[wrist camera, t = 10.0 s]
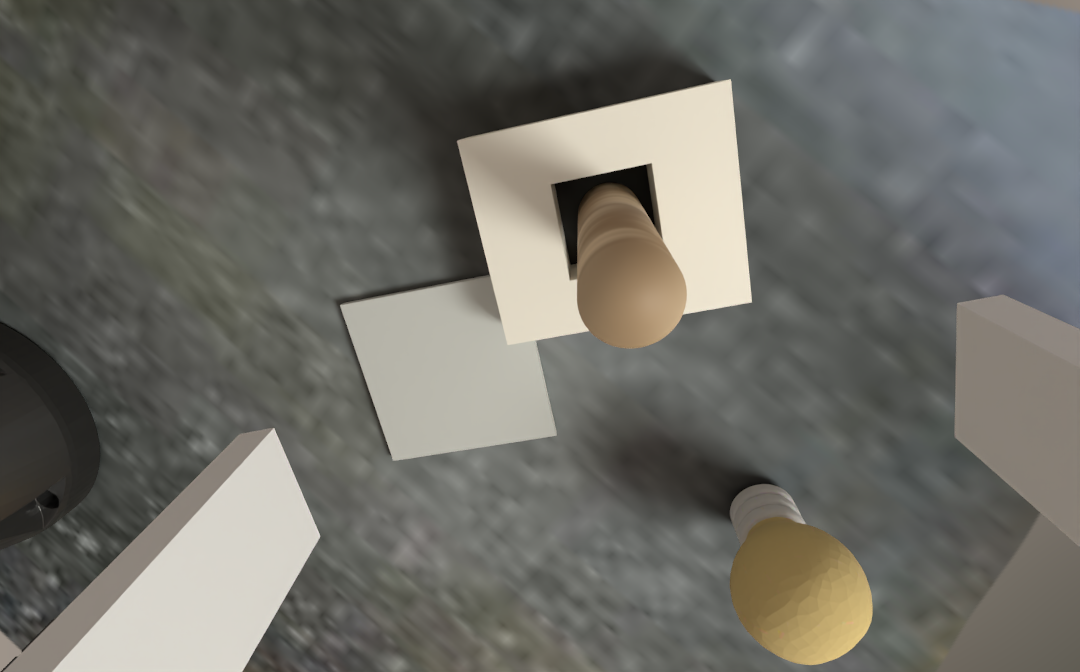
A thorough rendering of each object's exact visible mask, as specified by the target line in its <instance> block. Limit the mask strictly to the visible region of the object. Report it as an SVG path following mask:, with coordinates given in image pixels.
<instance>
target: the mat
mask: <svg viewBox="0 0 1080 672" xmlns="http://www.w3.org/2000/svg"><path fill="white" fill-rule="evenodd" d="M340 307H341V310H342V313H343V316H344V319H345V322H346V324H347V327H348V330H349V333H350V336H351V339H352V342H353V345H354V348H355V351H356V354H357V356H358V359H359V362H360V365H361V368H362V371H363V374H364V377H365V380H366V383H367V386H368V389H369V391H370V394H371V397H372V400H373V403H374V406H375V409H376V412H377V415H378V418H379V421H380V423H381V426H382V429H383V432H384V435H385V438H386V441H387V444H388V447H389V450H390V453H391V456H392V458H393V461H396V460H402V459H409V458H415V457H422V456H428V455H435V454H441V453H448V452H454V451H461V450H467V449H473V448H480V447H486V446H493V445H499V444H506V443H512V442H519V441H525V440H532V439H538V438H544V437H551V436H557V431H556V426H555V422H554V418H553V413H552V409H551V405H550V400H549V396H548V392H547V387H546V383H545V379H544V374H543V370H542V366H541V361H540V357H539V353H538V348H537V344H536V340H535V341H529V342H523V343H518V344H512V345H507V341H506V337H505V333H504V329H503V325H502V321H501V317H500V313H499V309H498V305H497V300H496V296H495V292H494V288H493V284H492V280H491V276H490V275H486V276H481V277H476V278H470V279H465V280H460V281H455V282H450V283H444V284H439V285H434V286H429V287H424V288H418V289H413V290H408V291H403V292H398V293H393V294H387V295H382V296H377V297H372V298H367V299H361V300H356V301H351V302H346V303H342V304H341V305H340Z"/></svg>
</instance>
